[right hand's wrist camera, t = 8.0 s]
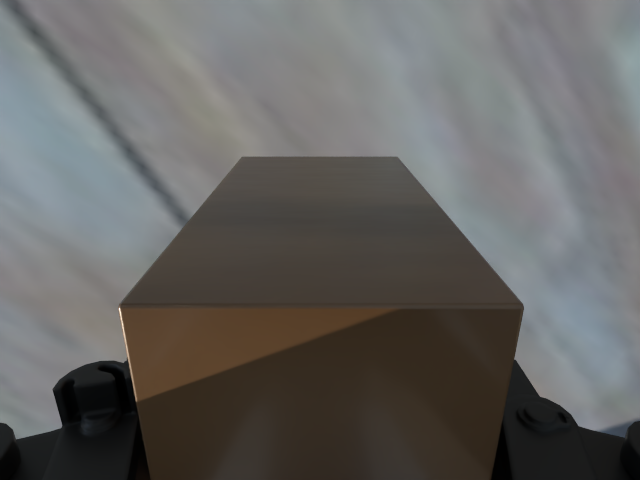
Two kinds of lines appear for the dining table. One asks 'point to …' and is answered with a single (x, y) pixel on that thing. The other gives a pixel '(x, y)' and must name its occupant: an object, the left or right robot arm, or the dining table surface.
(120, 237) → the dining table surface
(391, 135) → the dining table surface
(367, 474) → the bar
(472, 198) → the dining table surface
